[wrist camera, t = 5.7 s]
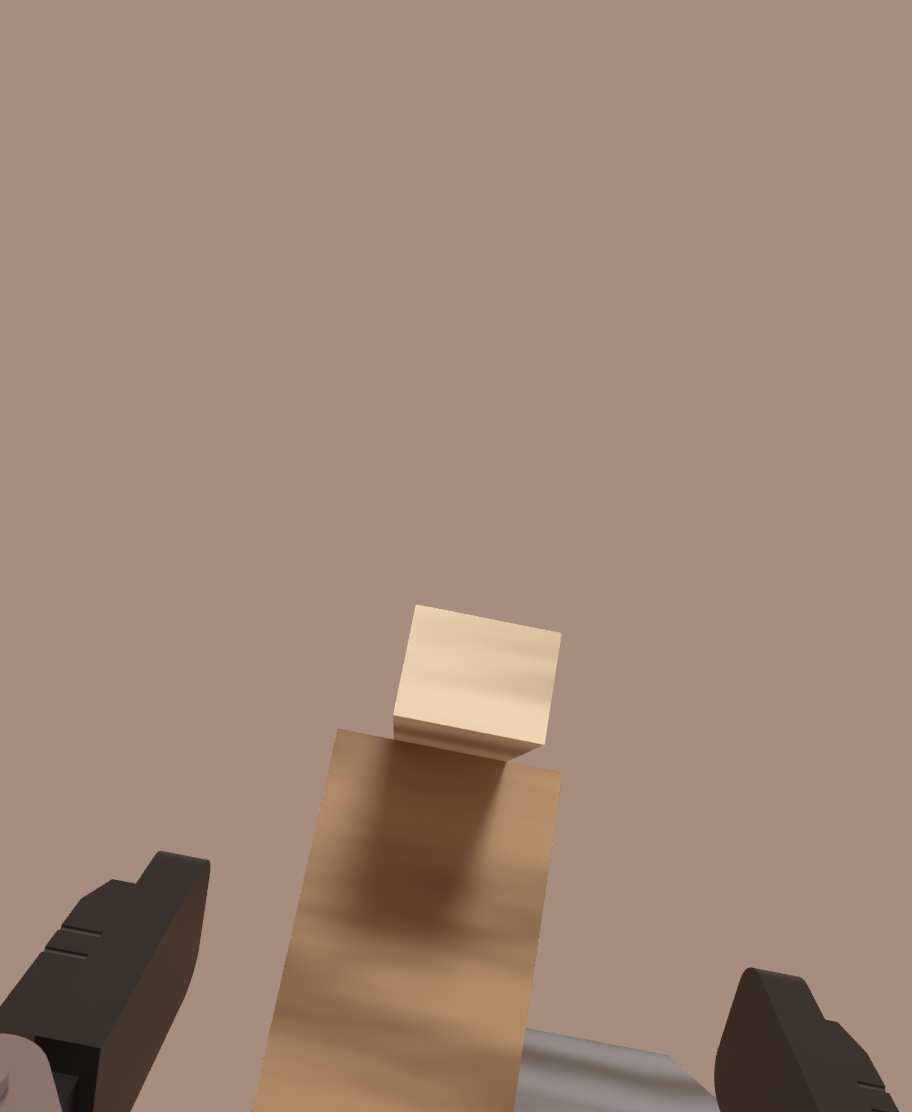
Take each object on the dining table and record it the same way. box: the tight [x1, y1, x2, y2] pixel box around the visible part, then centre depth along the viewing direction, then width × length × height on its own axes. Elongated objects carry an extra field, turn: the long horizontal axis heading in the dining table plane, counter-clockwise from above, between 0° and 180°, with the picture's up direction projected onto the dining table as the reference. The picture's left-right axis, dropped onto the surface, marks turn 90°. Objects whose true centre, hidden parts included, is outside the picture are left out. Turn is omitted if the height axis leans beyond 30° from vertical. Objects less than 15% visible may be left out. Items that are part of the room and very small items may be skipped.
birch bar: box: [393, 605, 561, 762], centre depth 32 cm, size 20×4×3 cm, turn 4°
